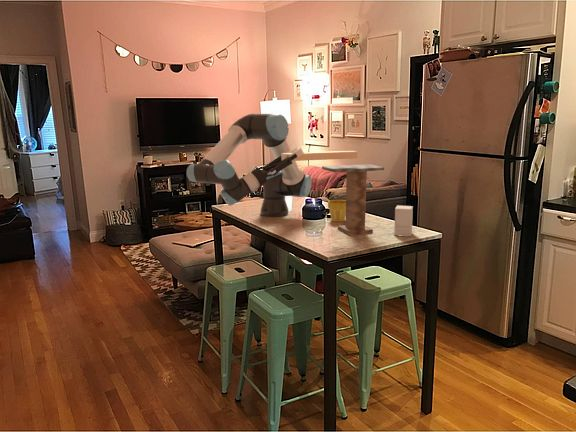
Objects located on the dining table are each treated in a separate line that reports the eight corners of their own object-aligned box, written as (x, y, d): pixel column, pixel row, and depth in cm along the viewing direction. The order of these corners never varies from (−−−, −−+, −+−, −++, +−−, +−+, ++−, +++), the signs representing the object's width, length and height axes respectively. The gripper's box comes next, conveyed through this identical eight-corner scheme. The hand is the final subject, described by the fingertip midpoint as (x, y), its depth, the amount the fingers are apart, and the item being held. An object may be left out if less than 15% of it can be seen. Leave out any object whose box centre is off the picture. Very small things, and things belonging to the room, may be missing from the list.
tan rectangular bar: (284, 161, 204) (284, 154, 203) (281, 160, 208) (281, 153, 207) (357, 158, 215) (357, 151, 214) (352, 157, 219) (352, 150, 218)
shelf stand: (333, 237, 214) (334, 169, 207) (321, 230, 226) (322, 166, 220) (381, 232, 221) (384, 167, 215) (366, 225, 234) (368, 164, 228)
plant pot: (324, 221, 244) (325, 202, 241) (331, 217, 253) (332, 199, 251) (344, 223, 239) (344, 204, 237) (350, 219, 248) (351, 200, 246)
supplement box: (412, 233, 221) (413, 205, 218) (410, 237, 214) (412, 209, 211) (395, 231, 223) (396, 205, 220) (393, 235, 216) (394, 208, 213)
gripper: (254, 184, 213) (297, 155, 217) (265, 190, 197) (311, 159, 201) (245, 169, 210) (289, 141, 214) (256, 174, 194) (303, 144, 198)
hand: (299, 150), depth 207 cm, fingers closed on tan rectangular bar, 4 cm apart
